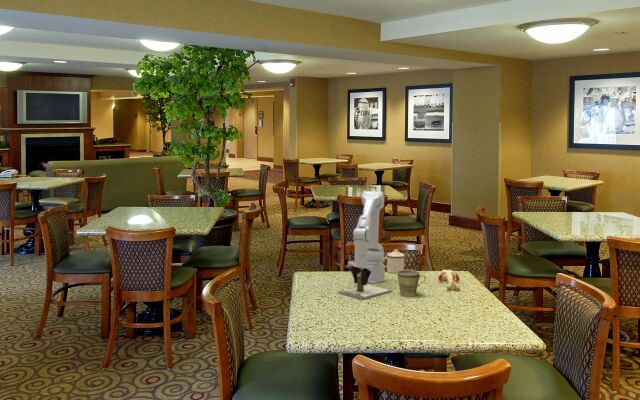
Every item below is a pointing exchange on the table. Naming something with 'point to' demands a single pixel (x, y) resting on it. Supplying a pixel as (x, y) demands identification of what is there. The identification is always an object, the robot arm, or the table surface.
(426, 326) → the table surface
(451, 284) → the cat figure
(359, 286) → the marker
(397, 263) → the teacup with lid
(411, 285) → the ceramic cup
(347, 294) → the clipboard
